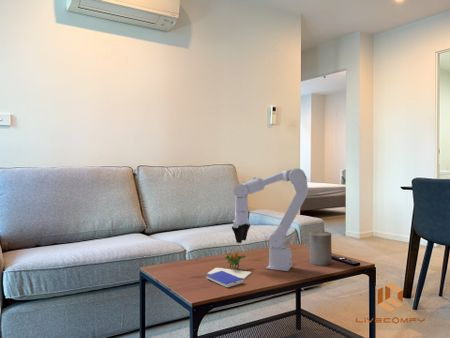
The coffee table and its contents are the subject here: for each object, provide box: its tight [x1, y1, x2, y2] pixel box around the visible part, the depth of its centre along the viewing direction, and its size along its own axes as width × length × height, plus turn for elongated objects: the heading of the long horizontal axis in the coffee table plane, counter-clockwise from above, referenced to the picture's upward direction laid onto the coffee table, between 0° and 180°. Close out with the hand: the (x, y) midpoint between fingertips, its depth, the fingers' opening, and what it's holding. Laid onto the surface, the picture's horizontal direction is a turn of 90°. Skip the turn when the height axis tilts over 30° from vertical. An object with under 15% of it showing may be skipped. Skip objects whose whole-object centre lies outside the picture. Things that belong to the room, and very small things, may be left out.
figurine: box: [224, 249, 247, 270], centre depth 155 cm, size 3×12×8 cm, turn 129°
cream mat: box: [206, 267, 252, 280], centre depth 149 cm, size 16×9×1 cm, turn 67°
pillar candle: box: [309, 230, 333, 267], centre depth 165 cm, size 10×10×15 cm
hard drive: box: [205, 271, 244, 288], centre depth 139 cm, size 2×8×12 cm
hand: (241, 241), depth 161 cm, fingers open, 5 cm apart
